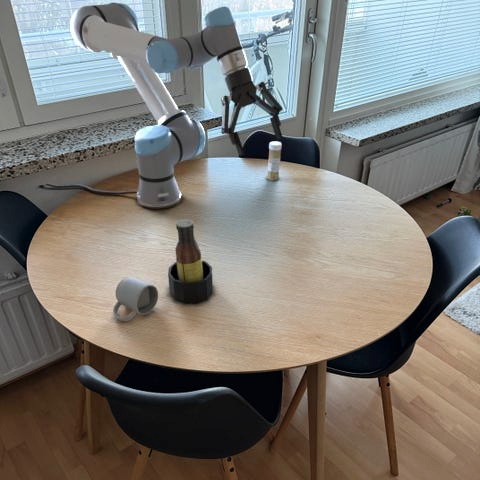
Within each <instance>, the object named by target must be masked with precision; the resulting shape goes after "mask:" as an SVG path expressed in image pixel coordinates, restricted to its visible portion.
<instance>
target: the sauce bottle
mask: <svg viewBox="0 0 480 480" xmlns="http://www.w3.org/2000/svg"><path fill="white" fill-rule="evenodd" d="M175 226H176V230H177V236H178V238H177V239H178V241H177V243H176V246H175V260H176V261H175V262H177V269H178V276H179V281H182V282H197V281H200V280H203V269H202V260H203V259H202V252H201V250H200V247H199V244H198V242H197V240H196V238H195V237H196V236H195V234H194V229H195V225H194V222H193V220H191V219H189V218H188V219H187V218H185V219H180V220H178V221H176V223H175Z"/></svg>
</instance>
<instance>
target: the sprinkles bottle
mask: <svg viewBox="0 0 480 480" xmlns="http://www.w3.org/2000/svg"><path fill="white" fill-rule="evenodd" d="M282 145H283V144H282V142H281V141H278V140H275V141H270V142H269V144H268V150H269V152H268V161H267V162H268V163H267V175H266V176H267V177H266V178H267V179H268V180H270V181H278V180H279V179H280V165H281V153H282Z"/></svg>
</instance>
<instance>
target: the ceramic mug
mask: <svg viewBox="0 0 480 480" xmlns="http://www.w3.org/2000/svg"><path fill="white" fill-rule="evenodd" d="M115 297H116V298H115V299H116V300H117V302H116V303H115V305H114V306H113V309H112V311H113V312H112V313H113V315H114V316H115V318H116V319H117V320H118V321H120V322H127V321H130V320H132V319H133V318H134V317H135V316H136V315H137V314H138V315H141V316H145V315H148V314H150V313H151V312H152V311H153V310H154V309H155V308H156V305H157V303H158V300H159V290H158V288H157V287H156V285H154V284H152V283H149V282H146V281H145V280H144V281H143V280H141V279H138V278H135V277H125V278H122V279H121V280H120V281H119V283H118V284H117V286H116V288H115ZM121 306H124V307H125V308H127V309H129V310H131V312H130V313H128V314H127V315H125V316H120V314H119V313H118V311H119V309H120V307H121Z"/></svg>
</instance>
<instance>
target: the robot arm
mask: <svg viewBox="0 0 480 480" xmlns="http://www.w3.org/2000/svg"><path fill="white" fill-rule="evenodd" d="M204 23H205V27H204V28H203V29H202V30H200V31H198V32H197V33H195V34H191V35H186V36H180V37H174V38H166V37H162V36H159V35H155V34H152V33H149V32H144V31H141V27H140V20H139V18H138V16H137V14H136V12H135V10H133V9H132V8H131V7H130V6H129V5H127V4H125V3H122V2H109V3H105V4H91V5H83V6H81V7H79V8H77V9H76V10H75V11H74V12H73V14H72V15H71V18H70V26H69V27H70V33H71V36H72V38H73V40H74V41H75V43H76V44H77V45H78V46H80V47H81V48H82V49H84V50H86V51H90V52H93V53H101V52H105V53H109V54H110V56H111V58H112V59H114V60H118V61H119V63H120V64H121V66H122V67H123V69H124V70H125V72H126V74H127V75H128V77H129V79H130V80H131V82H132V83H133V84H132V85H134V87H135V89H136V90H137V92H138V93H139V95H140V97H141V98H142V100H143V102H144V103H145V105H146V107H147V108H148V110H149V111H150V113H151V115H152V116H153V118H154V119H155V121H156V123H157V124H154V125H147V126H144V127H143V128H140V129H139V130H138V131H137V132H136V134H134V152H135V156H136V161H137V168H138V169H137V170H138V175H139V181H138V187H137V190H124V191H109V190H99V189H95V188H92V187H89V186H87V185H85V184H84V185H83V184H53V183H51V182H46V183H47V184H46V185H40V184H39V186H38V187H39V188H42V187H44V186H48V187H52V188H56V189H67V188H80V189H81V188H82V189H85V190H88V191H90V192H92V193H97V194H101V195H128V194H129V195H130V194H132V195H133V194H134V195H135V194H136V200H137V203H138V204H139V205H140V206H141V207H143V208H147V209H152V210H153V209H154V210H163V209H167V208H171V207H175V206H176V205H178V204H179V203H180V202H181V200H182V192H181V190H180V188H179V186H178V182H177V181H176V178H175V170H174V169H175V168H174V166H175V165H177V164H179V163H182V162H185V161H187V160H190V159H193V158H195V157H196V156H198V155H200V154H201V153H202V152H203V151H204V148H205V146H206V145H205V144H206V133H205V129H204V127H203V125H202V124H201V123H200V121H198V120H196V119H194V118H190V117H189V116H188V113H187V112H186V111H185V110H181V109H179V108H178V105H177V104H176V102H175V101H174V99H173V97H172V96H171V95H170V92H169V91H168V90H167V88H166V86H165V84H164V82H163V81H162V79H161V78H160V76H159V75H160V74H170V73H172V72H175V71H179V70H183V69H191V70H196V69H198V68H200V67H203V66H205V65H206V64H207V63H209V62H210V61H212V60H214V59H215V58H217V60H218V63H219V66H220V69H221V72H222V75H223V76H224V81H225V84H226V87H227V90H228V92H229V95H224V96H222V97H220V101H221V107H222V108H221V109H222V110H221V111H222V112H221V127H220V128H221V129H220V133H221V134H222V135H228V137H229V139H230V142H231V145H232V146H234V147H235V148H236V151H237V154H238V157H240V156H243V155H245V151H244V147H243V145H242V142H241V139H240V136H239V133H238V131H235V130H236V127H237V123H238V119H239V116H240V112H241V110H242V109H243V108H245V107H247V106H248V107H249V106H250V105H256V106H257V107H259V108H260V109H261V110H262V111H264V112H265V113H267V114H268V115H270V116H271V117H269V120H270V123H271V127H272V129H273V133H274V136H275V139H276V140H275V141H278V140H281V139H283V133H282V131H281V126H282V122H281V119H280V116H279V115H280V112H282V111H283V109H284V108H283V107H282V105H281V104H280V103H279V102H278V100H277V99H276V98H275V96H274V95H273V94H272V92H271V91H269V90H268V87H267V86H266V83H265V81H261V82H259V83H257V84H256V85H255V83H254V78H253V76H252V75H253V74H252V72H251V69H250V68H249V67H248V65H249V63H248V60H247V56H246V53H245V51H244V47H243V45H242V43H241V42H242V41H241V38H240V35H239V32H238V28H237V25H236V21H235V19H234V17H233V14H232V11H231V9H230V8H229V7H228V6H220V7H217V8H215V9H213V10H211V11H209V12H208V13H207V14H205V16H204ZM257 92H259V93H260V95H261V96H262V98H264V100H263V99H262V98H261V97H260V96H259V95H258V94H257ZM231 102H232V103H234V104H233V107H232V113H231V115H230V104H231ZM230 116H231V117H230ZM229 118H230V119H229Z"/></svg>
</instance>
